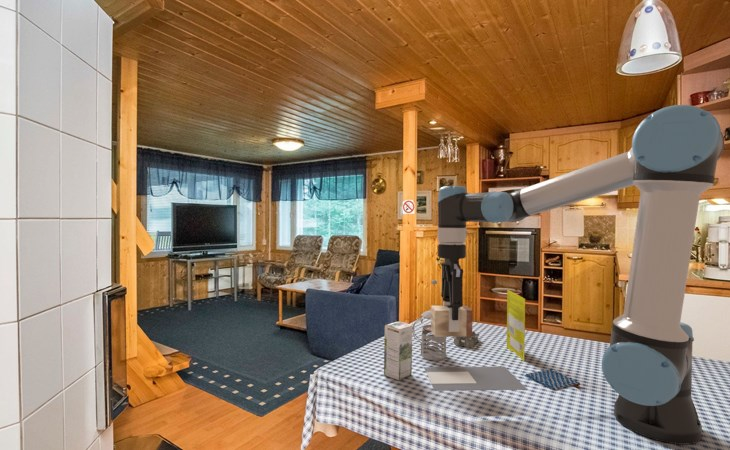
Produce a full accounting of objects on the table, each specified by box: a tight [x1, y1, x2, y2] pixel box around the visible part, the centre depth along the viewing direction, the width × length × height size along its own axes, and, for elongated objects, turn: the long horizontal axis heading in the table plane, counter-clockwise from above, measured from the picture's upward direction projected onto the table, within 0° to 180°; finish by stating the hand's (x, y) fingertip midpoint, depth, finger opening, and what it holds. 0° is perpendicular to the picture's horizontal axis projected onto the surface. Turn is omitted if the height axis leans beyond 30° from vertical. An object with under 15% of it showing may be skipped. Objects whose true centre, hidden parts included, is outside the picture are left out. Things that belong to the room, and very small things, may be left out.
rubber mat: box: [423, 366, 528, 392], centre depth 105 cm, size 15×24×1 cm, turn 92°
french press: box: [412, 279, 447, 361], centre depth 122 cm, size 10×12×25 cm
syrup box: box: [383, 321, 414, 381], centre depth 108 cm, size 6×6×14 cm
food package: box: [506, 289, 526, 362], centre depth 125 cm, size 15×1×20 cm, turn 179°
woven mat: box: [524, 368, 581, 392], centre depth 104 cm, size 10×11×2 cm
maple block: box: [430, 305, 474, 338], centre depth 105 cm, size 10×6×7 cm, turn 92°
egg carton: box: [452, 331, 480, 348], centre depth 137 cm, size 11×8×4 cm
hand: (450, 327), depth 105 cm, fingers closed on maple block, 5 cm apart
